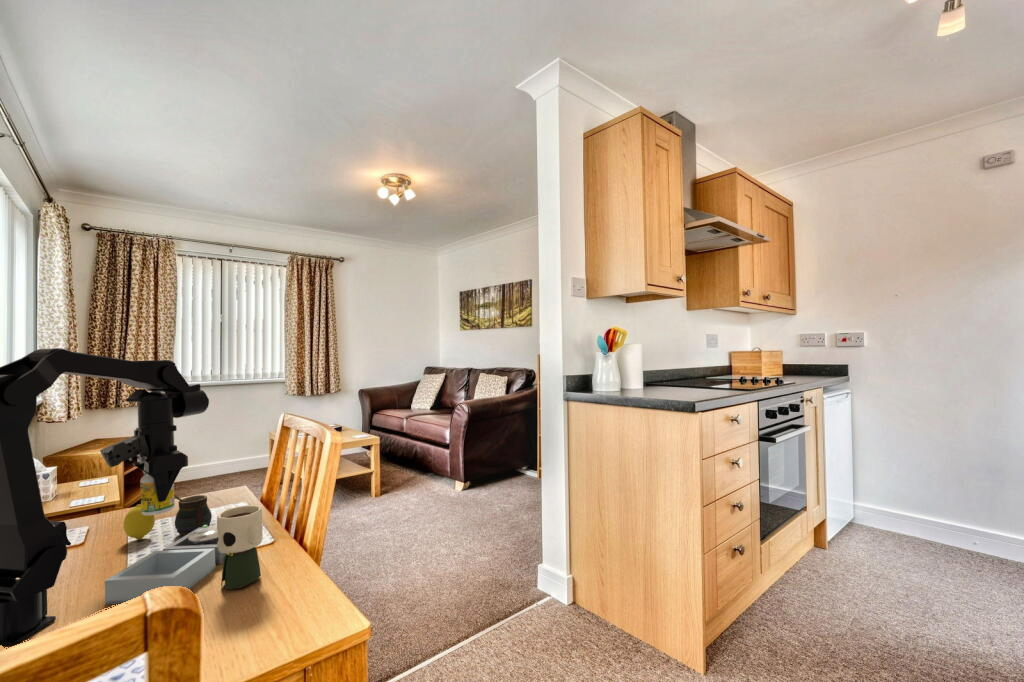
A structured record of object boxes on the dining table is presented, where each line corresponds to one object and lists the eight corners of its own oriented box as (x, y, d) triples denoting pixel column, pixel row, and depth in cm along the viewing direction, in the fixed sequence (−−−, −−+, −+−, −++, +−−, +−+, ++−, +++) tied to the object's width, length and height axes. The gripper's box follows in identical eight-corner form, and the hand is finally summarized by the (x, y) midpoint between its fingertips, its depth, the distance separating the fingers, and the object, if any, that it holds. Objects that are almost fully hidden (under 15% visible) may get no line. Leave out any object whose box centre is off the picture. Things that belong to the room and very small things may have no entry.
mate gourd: (218, 530, 110) (217, 487, 110) (182, 542, 103) (181, 497, 103) (203, 524, 113) (202, 483, 114) (167, 535, 107) (166, 492, 107)
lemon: (128, 537, 106) (127, 503, 106) (158, 533, 109) (157, 499, 109) (120, 547, 101) (119, 510, 101) (151, 541, 104) (150, 506, 104)
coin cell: (215, 549, 93) (215, 538, 93) (180, 550, 93) (180, 539, 93) (235, 534, 100) (235, 524, 100) (202, 536, 100) (202, 526, 100)
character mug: (205, 584, 84) (203, 512, 84) (245, 568, 90) (243, 500, 90) (236, 600, 78) (235, 523, 78) (277, 581, 84) (275, 510, 84)
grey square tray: (219, 564, 91) (219, 543, 91) (163, 567, 91) (162, 545, 91) (249, 541, 102) (249, 522, 102) (199, 543, 102) (198, 524, 102)
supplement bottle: (180, 508, 95) (179, 461, 95) (150, 517, 90) (149, 468, 90) (165, 505, 97) (163, 459, 97) (135, 514, 92) (134, 466, 92)
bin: (174, 601, 78) (173, 577, 78) (105, 604, 78) (104, 580, 78) (215, 568, 90) (214, 548, 90) (155, 571, 89) (154, 550, 89)
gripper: (95, 423, 94) (97, 500, 94) (113, 433, 82) (115, 521, 82) (162, 416, 102) (164, 486, 102) (187, 423, 90) (189, 503, 90)
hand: (158, 498), depth 94 cm, fingers closed on supplement bottle, 5 cm apart
